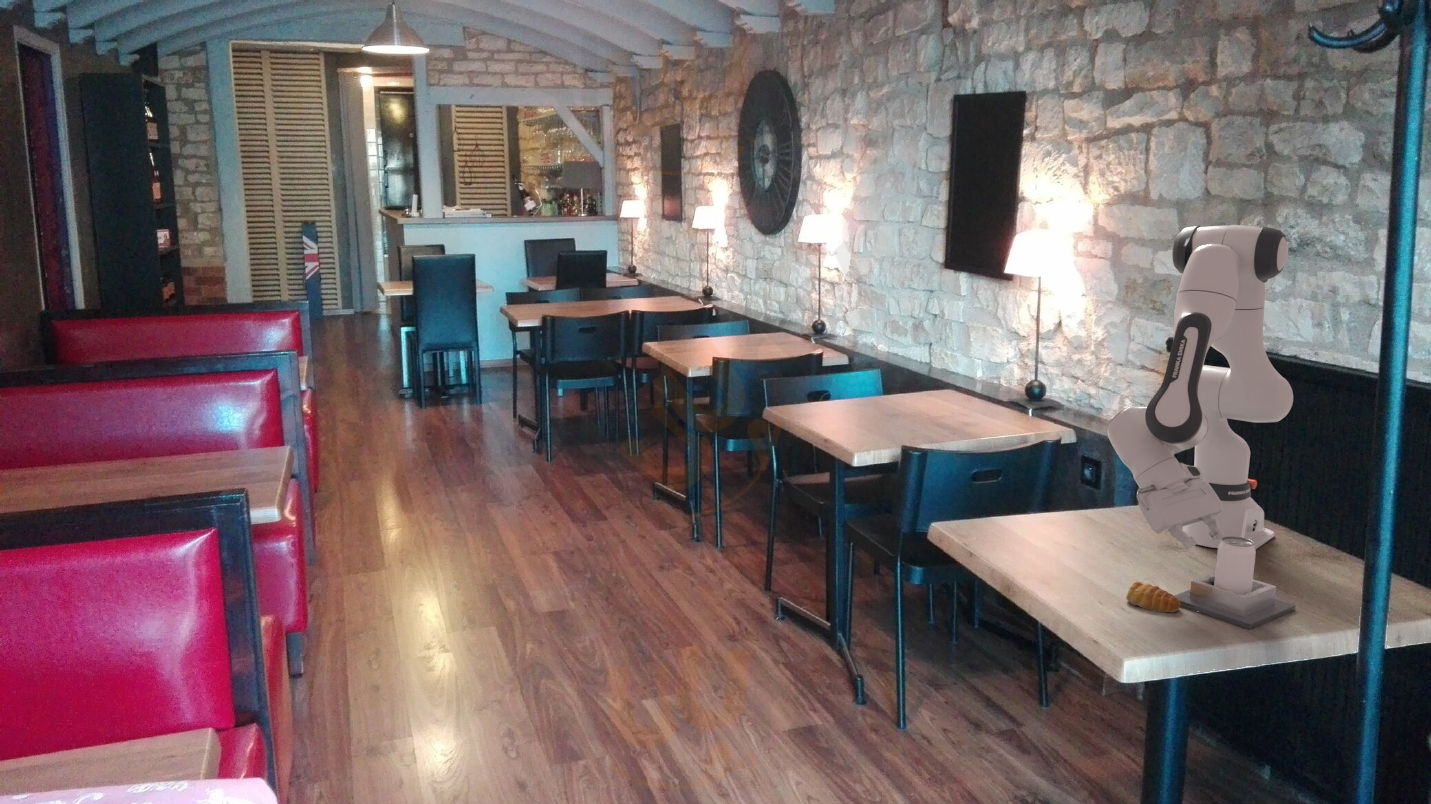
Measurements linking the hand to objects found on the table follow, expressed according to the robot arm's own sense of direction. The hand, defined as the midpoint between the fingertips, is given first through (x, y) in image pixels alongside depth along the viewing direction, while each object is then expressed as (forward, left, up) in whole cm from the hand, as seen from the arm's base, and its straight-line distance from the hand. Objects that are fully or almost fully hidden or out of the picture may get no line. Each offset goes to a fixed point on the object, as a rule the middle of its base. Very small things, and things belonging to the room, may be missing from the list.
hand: (1205, 542), depth 215 cm
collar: (0, +6, -11) cm, 13 cm away
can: (0, +6, -10) cm, 12 cm away
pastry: (+12, -3, -11) cm, 16 cm away
